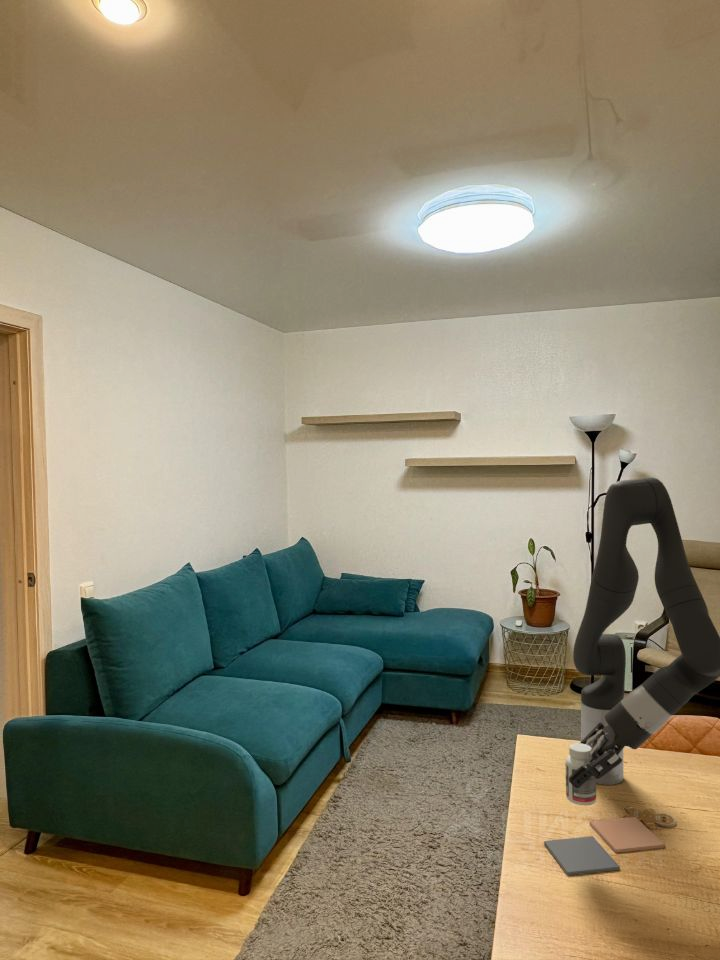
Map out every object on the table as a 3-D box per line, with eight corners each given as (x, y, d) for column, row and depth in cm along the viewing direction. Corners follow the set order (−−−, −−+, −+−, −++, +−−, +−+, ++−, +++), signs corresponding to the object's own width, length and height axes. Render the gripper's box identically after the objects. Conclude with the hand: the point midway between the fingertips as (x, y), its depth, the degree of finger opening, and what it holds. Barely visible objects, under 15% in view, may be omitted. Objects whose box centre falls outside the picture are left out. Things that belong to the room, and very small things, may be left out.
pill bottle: (602, 801, 124) (601, 748, 123) (583, 809, 121) (583, 756, 120) (578, 789, 128) (577, 739, 128) (559, 797, 125) (559, 745, 125)
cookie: (623, 802, 143) (675, 810, 139) (624, 806, 143) (675, 814, 139) (622, 821, 136) (676, 830, 132) (622, 825, 136) (677, 835, 132)
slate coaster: (544, 844, 129) (544, 841, 129) (592, 839, 130) (592, 836, 130) (567, 875, 119) (567, 872, 119) (619, 869, 120) (619, 866, 120)
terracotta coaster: (589, 824, 136) (589, 821, 136) (635, 819, 137) (635, 817, 137) (615, 852, 126) (615, 849, 126) (664, 847, 127) (664, 844, 127)
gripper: (615, 688, 129) (552, 745, 132) (629, 715, 115) (558, 779, 118) (644, 717, 129) (580, 774, 131) (663, 748, 114) (590, 811, 117)
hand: (570, 776), depth 125 cm, fingers closed on pill bottle, 5 cm apart
